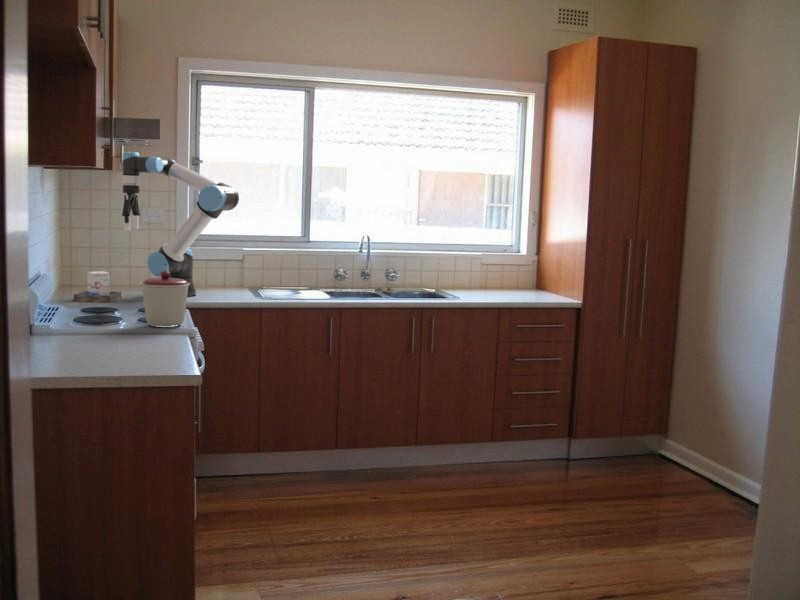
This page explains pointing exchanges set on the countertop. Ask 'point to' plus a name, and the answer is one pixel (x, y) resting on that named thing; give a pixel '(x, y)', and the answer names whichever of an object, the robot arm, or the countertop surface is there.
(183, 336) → the countertop surface
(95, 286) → the ink box
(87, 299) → the brown shallow square tray
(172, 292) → the canister
